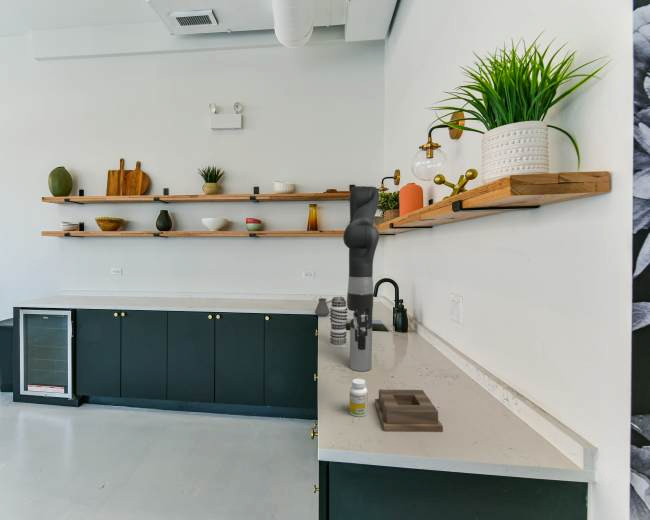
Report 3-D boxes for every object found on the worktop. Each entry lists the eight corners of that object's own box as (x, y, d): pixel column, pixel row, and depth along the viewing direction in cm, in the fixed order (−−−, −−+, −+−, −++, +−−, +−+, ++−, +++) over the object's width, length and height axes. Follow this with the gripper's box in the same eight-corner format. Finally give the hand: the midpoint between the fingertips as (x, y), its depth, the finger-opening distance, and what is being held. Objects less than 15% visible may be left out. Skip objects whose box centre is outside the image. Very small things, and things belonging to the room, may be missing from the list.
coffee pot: (313, 316, 240) (313, 297, 240) (315, 313, 252) (316, 294, 251) (342, 317, 238) (342, 297, 238) (342, 314, 249) (343, 295, 249)
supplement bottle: (355, 406, 101) (356, 376, 101) (370, 412, 98) (371, 380, 97) (345, 413, 97) (346, 381, 97) (360, 419, 93) (361, 386, 93)
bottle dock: (374, 403, 103) (375, 388, 103) (424, 403, 103) (424, 388, 103) (384, 431, 87) (384, 413, 87) (442, 431, 87) (443, 413, 87)
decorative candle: (346, 347, 163) (346, 299, 162) (328, 346, 164) (328, 298, 164) (347, 342, 172) (348, 296, 171) (330, 342, 173) (331, 296, 173)
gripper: (346, 289, 104) (345, 339, 104) (350, 294, 89) (349, 352, 89) (369, 289, 104) (369, 339, 104) (376, 294, 89) (376, 352, 89)
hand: (359, 345), depth 97 cm, fingers open, 8 cm apart
